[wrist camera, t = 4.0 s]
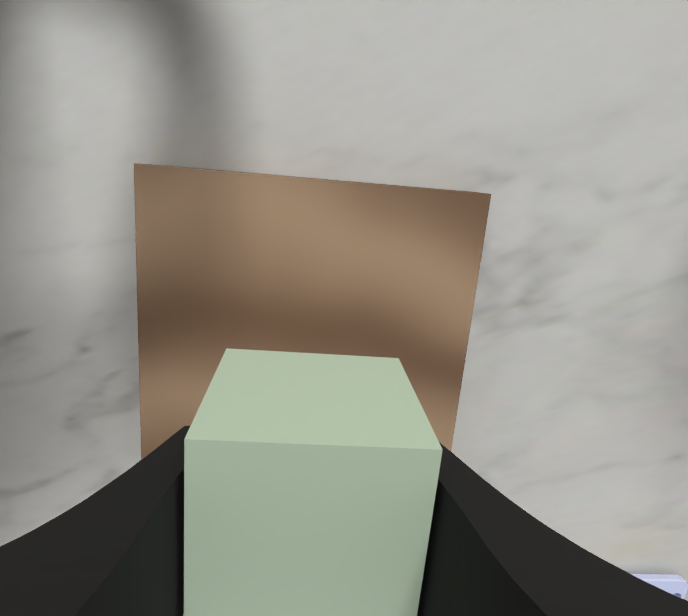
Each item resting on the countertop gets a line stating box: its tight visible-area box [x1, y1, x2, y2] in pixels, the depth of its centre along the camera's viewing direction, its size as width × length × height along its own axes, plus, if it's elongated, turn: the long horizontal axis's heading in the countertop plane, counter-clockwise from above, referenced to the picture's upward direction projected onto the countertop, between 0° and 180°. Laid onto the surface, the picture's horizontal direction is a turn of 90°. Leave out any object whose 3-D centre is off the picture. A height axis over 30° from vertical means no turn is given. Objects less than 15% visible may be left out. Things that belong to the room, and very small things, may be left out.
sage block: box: [184, 348, 443, 616], centre depth 10 cm, size 4×4×4 cm
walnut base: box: [134, 164, 491, 460], centre depth 19 cm, size 12×12×2 cm
